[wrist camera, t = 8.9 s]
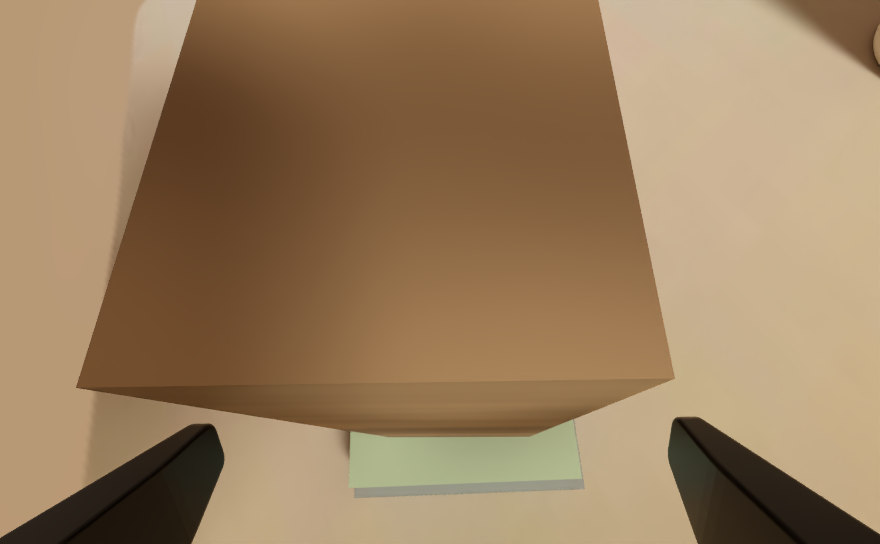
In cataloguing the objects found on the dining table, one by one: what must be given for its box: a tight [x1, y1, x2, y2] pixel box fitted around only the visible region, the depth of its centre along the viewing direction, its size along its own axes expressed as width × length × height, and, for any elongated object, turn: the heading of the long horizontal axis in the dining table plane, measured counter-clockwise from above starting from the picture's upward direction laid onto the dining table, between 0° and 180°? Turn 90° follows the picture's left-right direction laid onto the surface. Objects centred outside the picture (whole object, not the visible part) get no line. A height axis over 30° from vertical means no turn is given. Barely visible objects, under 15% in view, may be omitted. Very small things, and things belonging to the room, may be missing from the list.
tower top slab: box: [349, 420, 582, 488], centre depth 18 cm, size 8×8×2 cm
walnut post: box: [76, 0, 675, 437], centre depth 11 cm, size 5×5×13 cm
